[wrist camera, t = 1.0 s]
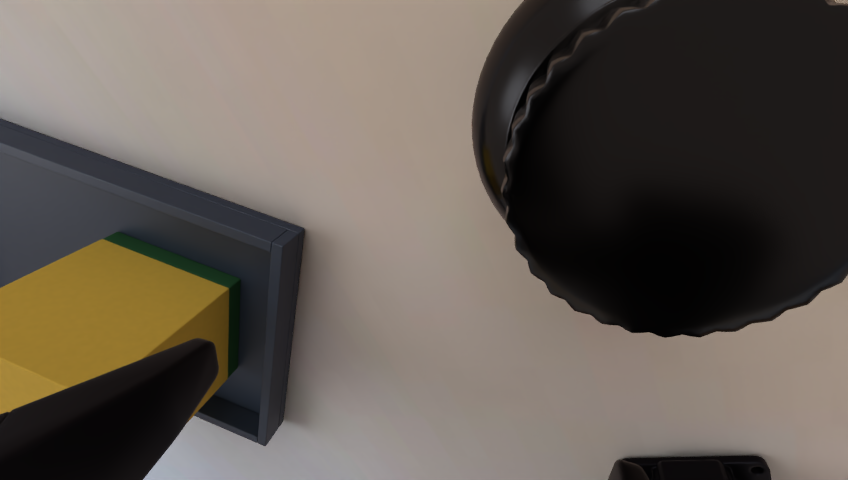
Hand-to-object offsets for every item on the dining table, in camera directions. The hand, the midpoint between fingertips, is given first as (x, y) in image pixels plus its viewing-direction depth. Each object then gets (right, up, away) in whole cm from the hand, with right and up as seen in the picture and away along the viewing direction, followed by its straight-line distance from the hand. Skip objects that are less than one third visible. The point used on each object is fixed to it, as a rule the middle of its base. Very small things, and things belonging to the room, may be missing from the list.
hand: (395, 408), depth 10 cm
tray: (-19, +2, +18) cm, 26 cm away
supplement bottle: (+7, +9, +7) cm, 14 cm away
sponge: (-14, 0, +17) cm, 22 cm away
